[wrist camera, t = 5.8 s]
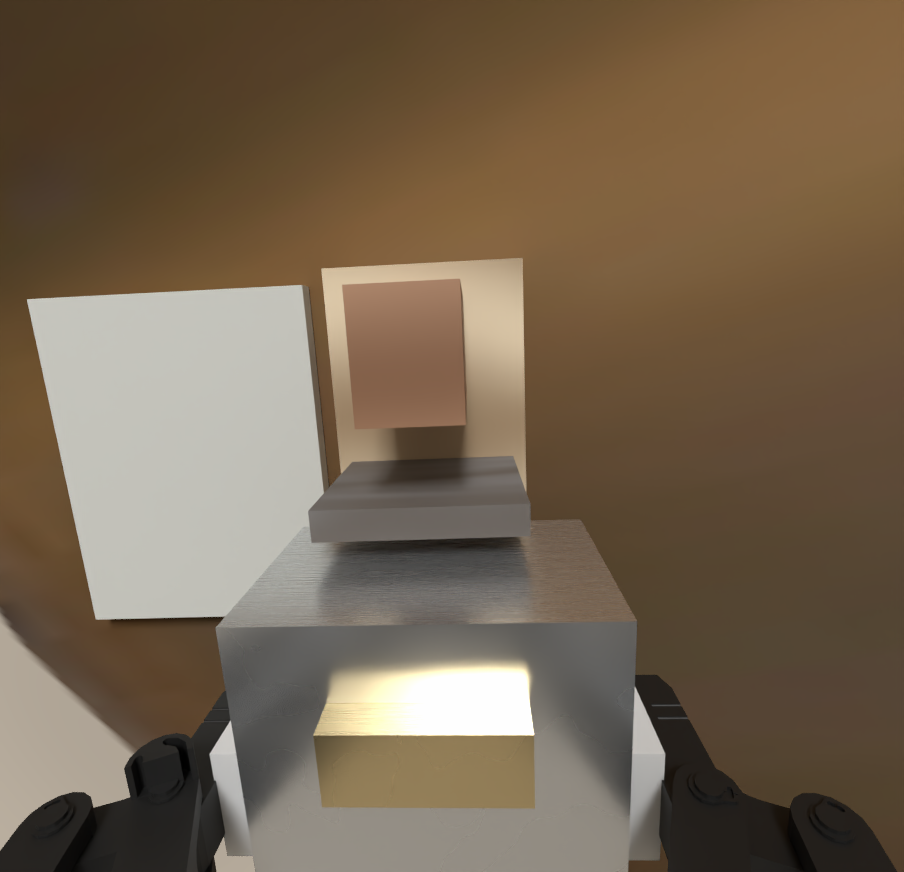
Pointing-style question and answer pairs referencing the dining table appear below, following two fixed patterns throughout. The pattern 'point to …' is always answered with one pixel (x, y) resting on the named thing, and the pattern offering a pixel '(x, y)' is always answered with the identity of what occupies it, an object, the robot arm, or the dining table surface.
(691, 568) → the dining table surface
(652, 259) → the dining table surface
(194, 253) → the dining table surface
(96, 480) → the rubber mat
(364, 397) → the hand plane
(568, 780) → the lever cap
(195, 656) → the dining table surface
